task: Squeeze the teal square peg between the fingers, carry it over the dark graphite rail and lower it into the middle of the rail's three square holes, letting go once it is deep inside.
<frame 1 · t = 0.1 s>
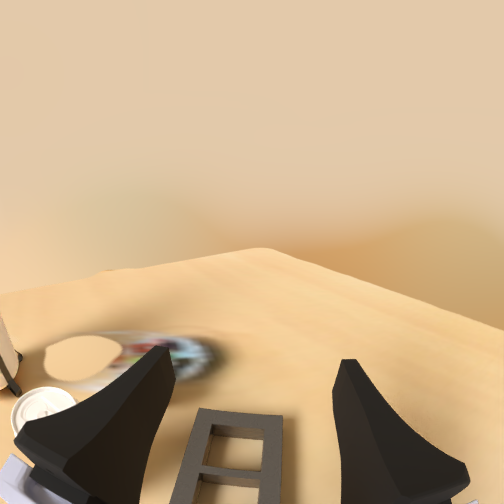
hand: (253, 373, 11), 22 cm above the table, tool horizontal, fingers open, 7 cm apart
beverage can: (92, 478, 19), on the table
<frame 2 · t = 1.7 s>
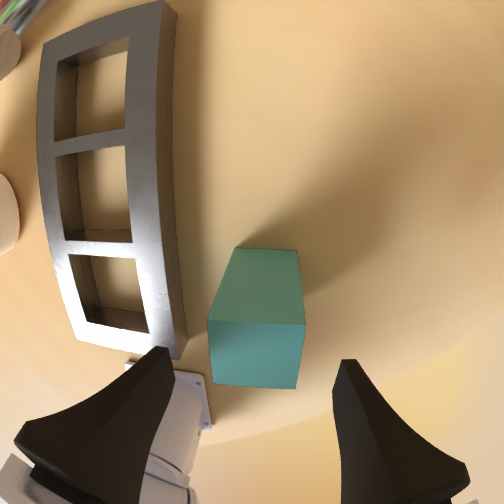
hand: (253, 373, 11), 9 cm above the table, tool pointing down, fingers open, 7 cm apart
beverage can: (4, 209, 20), on the table
rail: (109, 189, 18), on the table
grey lumpy piece: (18, 58, 14), on the table
square peg: (264, 276, 19), on the table
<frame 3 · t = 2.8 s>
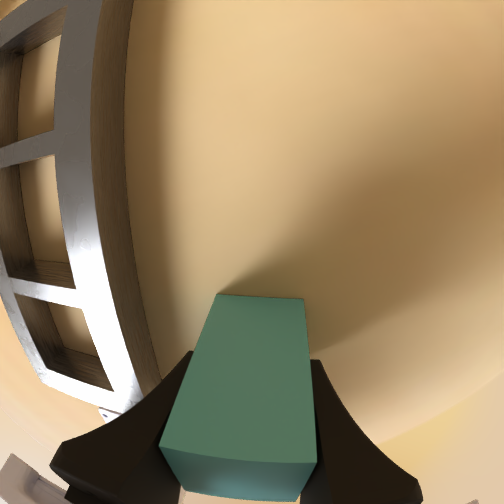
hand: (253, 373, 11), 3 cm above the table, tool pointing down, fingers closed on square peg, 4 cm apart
rail: (54, 211, 12), on the table
square peg: (258, 331, 14), on the table, touching gripper
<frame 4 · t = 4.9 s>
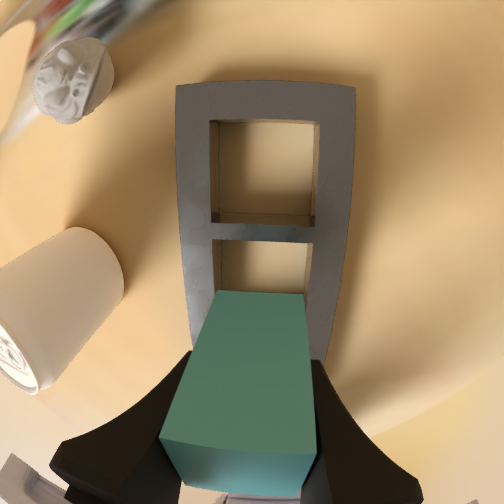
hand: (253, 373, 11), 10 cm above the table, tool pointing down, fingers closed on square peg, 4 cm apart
beverage can: (90, 267, 22), on the table
rail: (263, 269, 20), on the table
grey lumpy piece: (103, 85, 16), on the table
square peg: (259, 326, 14), point 7 cm above the table, touching gripper
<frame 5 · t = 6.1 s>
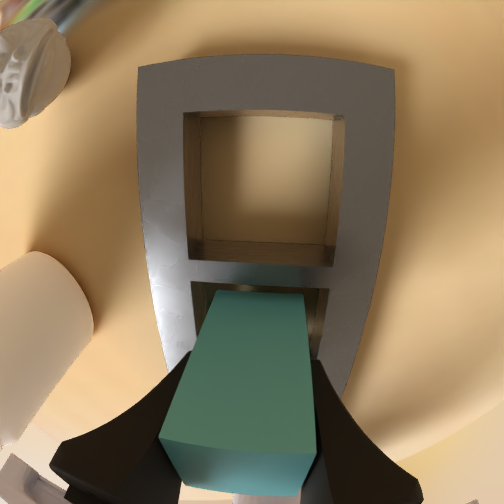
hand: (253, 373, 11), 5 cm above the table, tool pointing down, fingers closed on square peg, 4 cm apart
beverage can: (57, 297, 17), on the table
rail: (261, 311, 15), on the table
grey lumpy piece: (62, 76, 11), on the table
square peg: (259, 326, 14), point 2 cm above the table, touching gripper
when the fingers open (3 cm above the table, at t = 6.9 s): square peg stays where it is, resting in rail.
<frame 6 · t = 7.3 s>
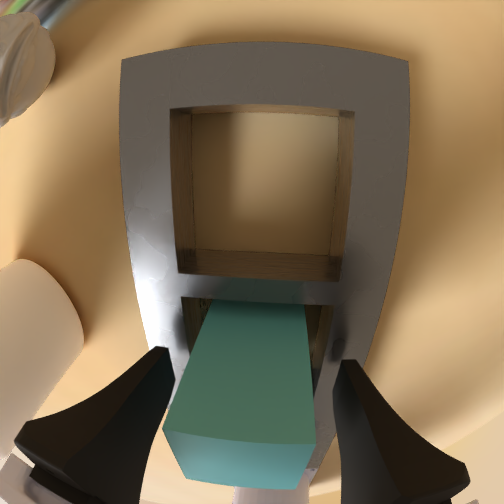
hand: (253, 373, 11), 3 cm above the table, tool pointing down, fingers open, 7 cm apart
beverage can: (47, 306, 16), on the table
rail: (259, 325, 14), on the table
grey lumpy piece: (47, 74, 10), on the table
square peg: (258, 322, 14), resting in rail
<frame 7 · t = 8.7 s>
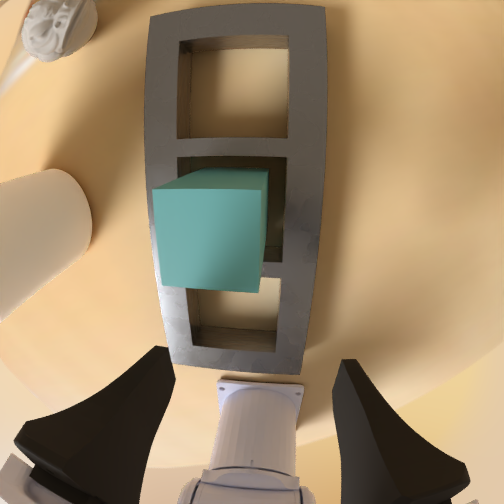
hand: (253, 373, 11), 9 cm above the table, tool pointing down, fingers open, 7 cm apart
beverage can: (62, 214, 20), on the table
rail: (236, 200, 18), on the table
grey lumpy piece: (88, 33, 14), on the table
square peg: (236, 198, 18), resting in rail
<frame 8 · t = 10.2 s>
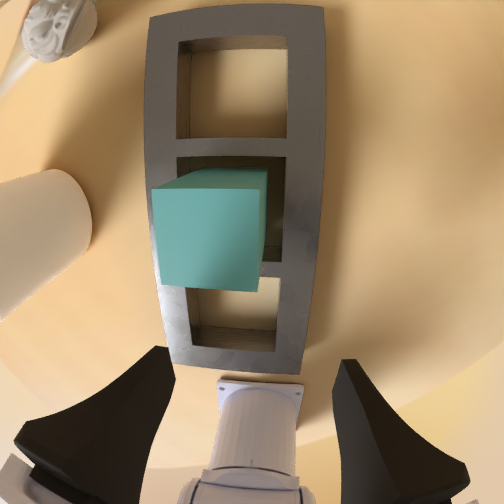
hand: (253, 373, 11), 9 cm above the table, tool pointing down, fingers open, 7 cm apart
beverage can: (62, 214, 20), on the table
rail: (236, 200, 18), on the table
grey lumpy piece: (87, 34, 14), on the table
square peg: (235, 198, 18), resting in rail
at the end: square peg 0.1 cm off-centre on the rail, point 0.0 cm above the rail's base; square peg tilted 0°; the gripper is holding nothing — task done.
